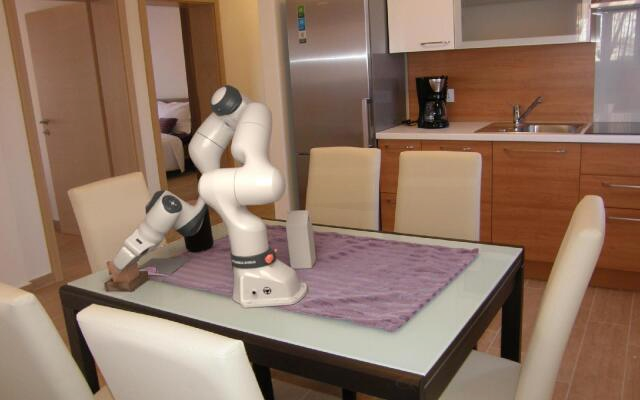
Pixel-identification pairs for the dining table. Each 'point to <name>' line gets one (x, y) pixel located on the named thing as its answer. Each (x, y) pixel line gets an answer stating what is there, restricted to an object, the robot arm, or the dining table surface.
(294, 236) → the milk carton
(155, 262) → the mat
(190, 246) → the coffee jar
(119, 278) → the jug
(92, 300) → the dining table surface
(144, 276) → the tray
